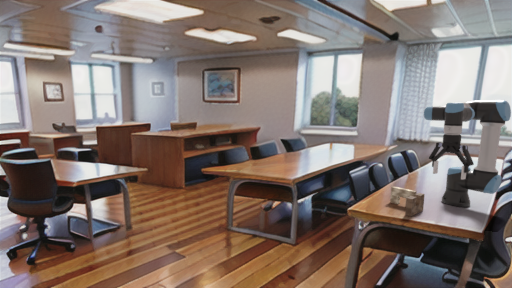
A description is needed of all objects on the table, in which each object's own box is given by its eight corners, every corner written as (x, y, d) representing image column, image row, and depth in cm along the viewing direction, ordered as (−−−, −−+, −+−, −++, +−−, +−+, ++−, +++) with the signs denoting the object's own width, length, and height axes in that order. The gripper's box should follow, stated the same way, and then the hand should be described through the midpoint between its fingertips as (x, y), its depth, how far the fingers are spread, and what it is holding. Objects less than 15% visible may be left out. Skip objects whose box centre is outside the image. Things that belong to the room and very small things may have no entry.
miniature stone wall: (417, 209, 178) (419, 192, 176) (423, 210, 175) (424, 194, 174) (405, 215, 168) (406, 197, 166) (410, 216, 165) (412, 199, 164)
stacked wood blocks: (390, 202, 190) (391, 187, 189) (392, 201, 192) (393, 186, 191) (413, 208, 179) (414, 192, 178) (415, 207, 181) (416, 191, 180)
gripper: (423, 132, 157) (420, 172, 160) (476, 136, 136) (471, 182, 138) (432, 131, 161) (428, 170, 164) (485, 136, 139) (480, 180, 142)
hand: (448, 176), depth 151 cm, fingers open, 13 cm apart
